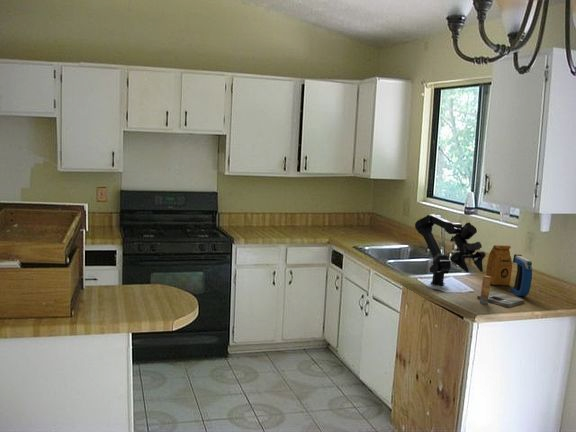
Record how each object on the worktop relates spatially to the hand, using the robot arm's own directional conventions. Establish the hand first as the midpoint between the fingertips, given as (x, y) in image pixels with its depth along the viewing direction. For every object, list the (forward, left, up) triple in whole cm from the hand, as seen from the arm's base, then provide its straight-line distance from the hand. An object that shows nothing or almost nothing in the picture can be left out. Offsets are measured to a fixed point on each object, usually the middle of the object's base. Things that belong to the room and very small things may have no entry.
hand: (475, 271), depth 288 cm
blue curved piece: (-25, +21, -14) cm, 35 cm away
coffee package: (-41, +10, -14) cm, 44 cm away
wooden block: (+5, +6, -13) cm, 16 cm away
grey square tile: (-5, +13, -13) cm, 20 cm away
